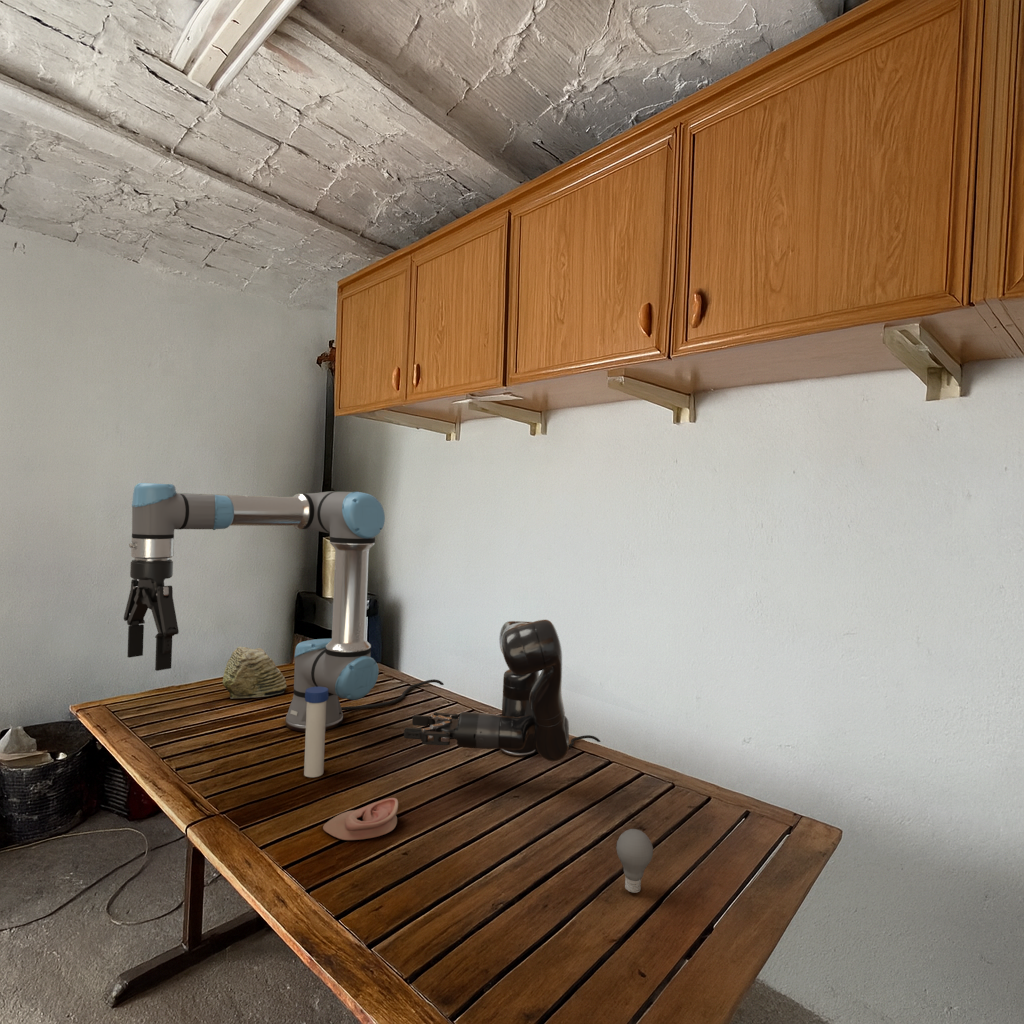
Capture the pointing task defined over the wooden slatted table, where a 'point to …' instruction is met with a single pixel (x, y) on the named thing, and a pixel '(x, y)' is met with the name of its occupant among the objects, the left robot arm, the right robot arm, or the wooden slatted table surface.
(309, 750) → the white bottle
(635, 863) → the light bulb
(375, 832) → the anatomical model
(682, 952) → the wooden slatted table surface
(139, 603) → the left robot arm
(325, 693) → the lid
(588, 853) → the wooden slatted table surface
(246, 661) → the fossil
